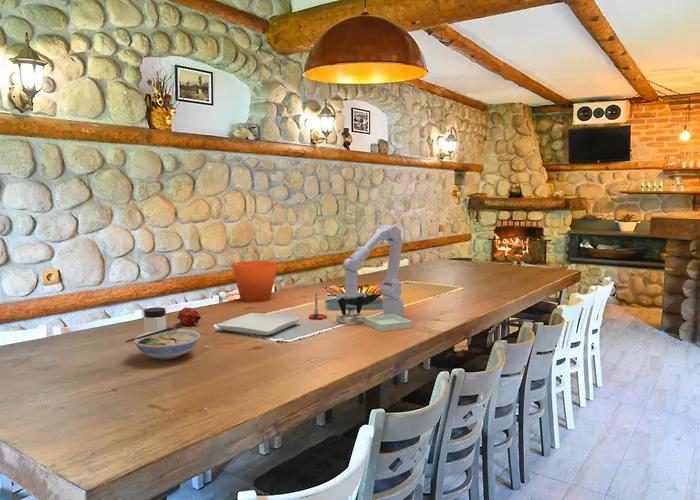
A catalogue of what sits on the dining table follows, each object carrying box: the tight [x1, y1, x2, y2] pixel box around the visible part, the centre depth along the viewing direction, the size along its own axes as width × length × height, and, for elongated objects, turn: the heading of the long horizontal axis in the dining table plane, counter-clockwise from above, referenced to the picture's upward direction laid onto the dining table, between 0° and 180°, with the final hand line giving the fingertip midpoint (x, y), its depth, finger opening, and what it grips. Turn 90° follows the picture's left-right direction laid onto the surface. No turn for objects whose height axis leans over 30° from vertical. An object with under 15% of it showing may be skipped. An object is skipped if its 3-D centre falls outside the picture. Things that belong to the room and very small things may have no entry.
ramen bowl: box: [124, 324, 201, 361], centre depth 196 cm, size 25×23×8 cm
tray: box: [363, 314, 413, 333], centre depth 243 cm, size 16×16×3 cm
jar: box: [143, 306, 167, 333], centre depth 220 cm, size 9×8×12 cm
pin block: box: [336, 311, 367, 326], centre depth 250 cm, size 10×10×3 cm
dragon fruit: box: [176, 306, 202, 327], centre depth 243 cm, size 8×8×12 cm
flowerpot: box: [231, 260, 279, 303], centre depth 300 cm, size 25×25×20 cm
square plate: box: [215, 312, 302, 336], centre depth 238 cm, size 27×27×4 cm
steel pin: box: [346, 305, 357, 317], centre depth 250 cm, size 4×4×7 cm
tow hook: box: [308, 291, 328, 321], centre depth 258 cm, size 8×13×9 cm
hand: (351, 313), depth 250 cm, fingers open, 7 cm apart
